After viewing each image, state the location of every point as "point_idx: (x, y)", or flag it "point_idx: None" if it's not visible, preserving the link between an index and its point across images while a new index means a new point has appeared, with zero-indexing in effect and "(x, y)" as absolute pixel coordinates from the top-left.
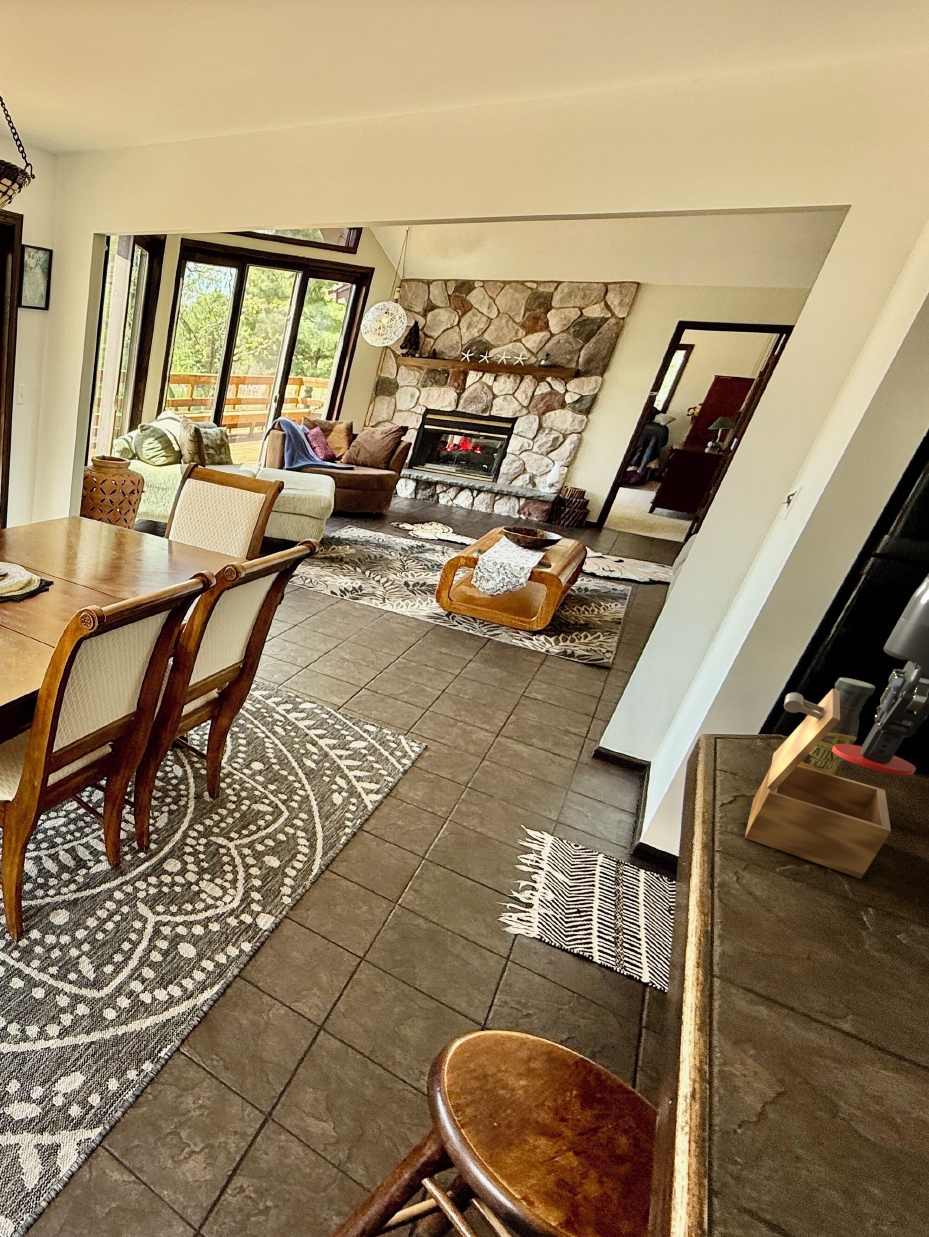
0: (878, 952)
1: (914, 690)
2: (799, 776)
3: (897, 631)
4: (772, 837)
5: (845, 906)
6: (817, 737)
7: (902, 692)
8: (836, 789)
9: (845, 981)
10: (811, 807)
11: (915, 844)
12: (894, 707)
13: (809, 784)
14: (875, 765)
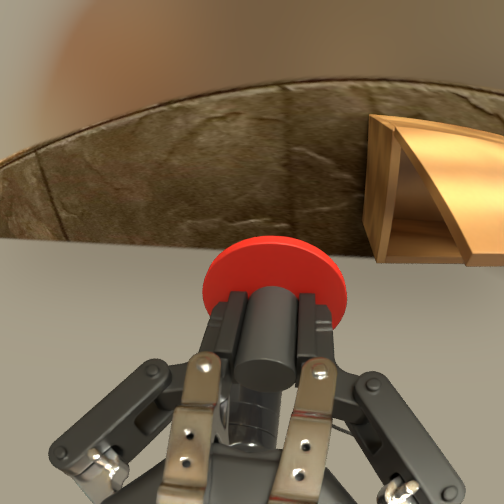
0: (188, 228)
1: (97, 489)
2: None
3: None
4: (371, 142)
5: (265, 207)
6: (444, 207)
7: (140, 480)
8: None
9: (112, 211)
10: (386, 184)
11: None
12: (91, 422)
13: None
14: (205, 302)
